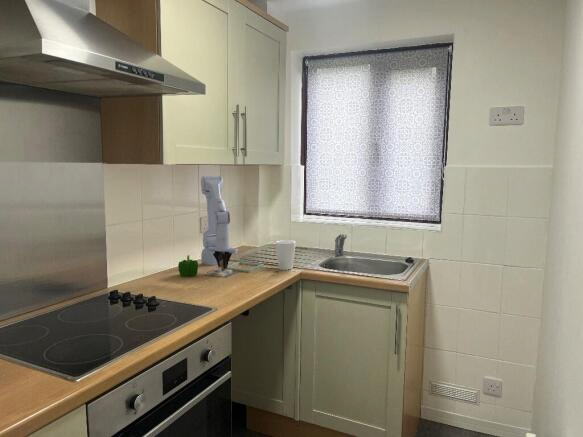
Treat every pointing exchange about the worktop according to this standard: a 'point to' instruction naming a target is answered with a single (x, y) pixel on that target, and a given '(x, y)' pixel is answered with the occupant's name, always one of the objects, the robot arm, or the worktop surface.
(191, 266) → the bell pepper
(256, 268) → the tray
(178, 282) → the worktop surface
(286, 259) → the foam cup
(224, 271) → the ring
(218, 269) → the stake board
